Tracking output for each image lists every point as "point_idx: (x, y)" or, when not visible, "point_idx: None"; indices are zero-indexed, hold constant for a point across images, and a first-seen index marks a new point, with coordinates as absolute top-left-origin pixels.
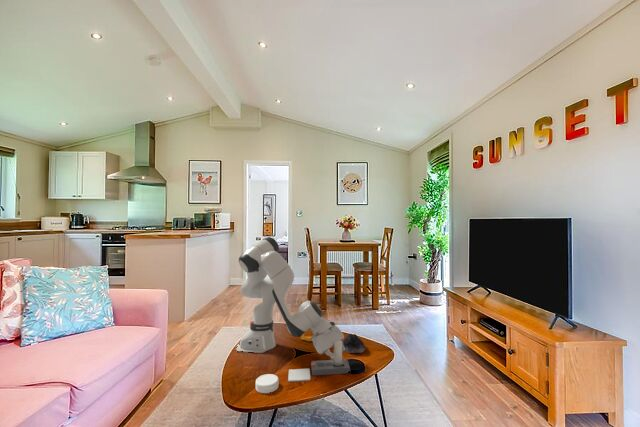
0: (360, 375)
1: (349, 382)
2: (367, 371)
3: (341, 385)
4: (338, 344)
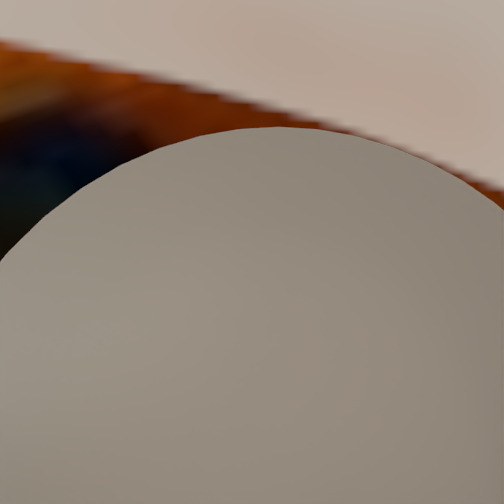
0: (177, 103)
1: (371, 138)
2: (43, 74)
3: (467, 176)
4: (472, 246)
